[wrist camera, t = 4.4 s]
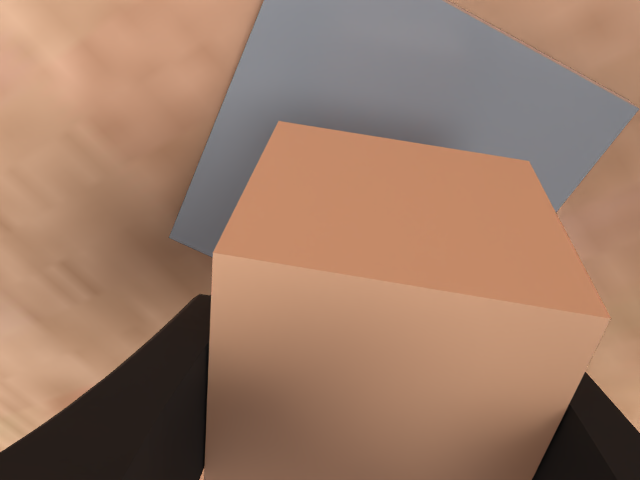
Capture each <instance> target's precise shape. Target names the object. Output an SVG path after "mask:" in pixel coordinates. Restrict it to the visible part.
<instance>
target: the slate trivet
mask: <svg viewBox="0 0 640 480" xmlns="http://www.w3.org/2000/svg"><path fill="white" fill-rule="evenodd" d="M638 110H639V108H638V107H637V106H635V105H634V104H633V103H632V102H630V101H629V100H628V99H626V98H624V97H622V96H620V95H619V94H617V93H615V92H613V91H611V90H609V89H608V88H606V87H604V86H602V85H600V84H599V83H597V82H595V81H593V80H591V79H589V78H588V77H586V76H584V75H582V74H580V73H579V72H577V71H575V70H573V69H571V68H570V67H568V66H566V65H564V64H562V63H560V62H559V61H557V60H555V59H553V58H551V57H550V56H548V55H546V54H544V53H542V52H540V51H539V50H537V49H535V48H533V47H531V46H530V45H528V44H526V43H524V42H522V41H521V40H519V39H517V38H515V37H513V36H511V35H510V34H508V33H506V32H504V31H502V30H501V29H499V28H497V27H495V26H493V25H491V24H490V23H488V22H486V21H484V20H482V19H481V18H479V17H477V16H475V15H473V14H471V13H470V12H468V11H466V10H464V9H462V8H461V7H459V6H457V5H455V4H453V3H452V2H450V1H448V0H264V2H263V4H262V7H261V9H260V12H259V14H258V17H257V19H256V22H255V24H254V27H253V29H252V31H251V34H250V36H249V39H248V41H247V44H246V46H245V49H244V51H243V54H242V56H241V59H240V61H239V64H238V66H237V69H236V71H235V74H234V76H233V79H232V81H231V84H230V86H229V89H228V91H227V94H226V96H225V99H224V101H223V104H222V106H221V109H220V111H219V114H218V116H217V119H216V121H215V124H214V126H213V129H212V131H211V134H210V136H209V139H208V141H207V144H206V146H205V149H204V151H203V154H202V156H201V159H200V161H199V164H198V166H197V169H196V171H195V174H194V176H193V179H192V181H191V184H190V186H189V189H188V191H187V194H186V196H185V199H184V201H183V204H182V206H181V209H180V211H179V214H178V216H177V219H176V221H175V224H174V226H173V229H172V231H171V234H170V236H169V238H171V239H173V240H175V241H177V242H179V243H182V244H184V245H186V246H188V247H190V248H193V249H195V250H197V251H199V252H201V253H204V254H206V255H208V256H210V257H212V258H213V251H214V249H215V247H216V245H217V243H218V241H219V239H220V237H221V235H222V233H223V231H224V229H225V227H226V225H227V223H228V221H229V219H230V217H231V215H232V213H233V211H234V209H235V207H236V205H237V203H238V201H239V199H240V197H241V195H242V193H243V191H244V189H245V187H246V185H247V183H248V181H249V179H250V177H251V175H252V173H253V171H254V169H255V167H256V165H257V163H258V161H259V159H260V157H261V155H262V153H263V151H264V149H265V147H266V145H267V143H268V141H269V139H270V137H271V135H272V133H273V131H274V129H275V127H276V125H277V123H278V121H282V122H289V123H295V124H301V125H307V126H314V127H320V128H326V129H332V130H339V131H345V132H351V133H357V134H364V135H370V136H376V137H382V138H389V139H395V140H401V141H407V142H414V143H420V144H426V145H432V146H439V147H445V148H451V149H457V150H464V151H470V152H476V153H482V154H489V155H495V156H501V157H507V158H514V159H520V160H526V161H529V162H530V164H531V166H532V168H533V170H534V172H535V173H536V175H537V177H538V179H539V181H540V183H541V185H542V187H543V189H544V191H545V193H546V195H547V196H548V198H549V200H550V202H551V204H552V206H553V208H554V210H555V212H557V211H558V210H559V208H560V207H561V206H562V205H563V203H564V202H565V201H566V200H567V198H568V197H569V196H570V195H571V193H572V192H573V191H574V190H575V188H576V187H577V186H578V185H579V183H580V182H581V181H582V180H583V178H584V177H585V176H586V175H587V173H588V172H589V171H590V170H591V168H592V167H593V166H594V165H595V163H596V162H597V161H598V160H599V159H600V157H601V156H602V155H603V154H604V152H605V151H606V150H607V149H608V147H609V146H610V145H611V144H612V142H613V141H614V140H615V139H616V137H617V136H618V135H619V134H620V132H621V131H622V130H623V129H624V127H625V126H626V125H627V124H628V122H629V121H630V120H631V119H632V117H633V116H634V115H635V114H636V112H637V111H638Z"/></svg>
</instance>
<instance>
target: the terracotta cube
mask: <svg viewBox="0 0 640 480" xmlns="http://www.w3.org/2000/svg"><path fill="white" fill-rule="evenodd" d="M610 320H611V317H610V315H609V314H608V312H607V310H606V308H605V306H604V304H603V302H602V300H601V298H600V296H599V294H598V292H597V291H596V289H595V287H594V285H593V283H592V281H591V279H590V277H589V275H588V273H587V271H586V269H585V267H584V266H583V264H582V262H581V260H580V258H579V256H578V254H577V252H576V250H575V248H574V246H573V244H572V243H571V241H570V239H569V237H568V235H567V233H566V231H565V229H564V227H563V225H562V223H561V221H560V220H559V218H558V216H557V214H556V212H555V210H554V208H553V206H552V204H551V202H550V200H549V198H548V196H547V195H546V193H545V191H544V189H543V187H542V185H541V183H540V181H539V179H538V177H537V175H536V173H535V172H534V170H533V168H532V166H531V164H530V162H529V161H526V160H520V159H514V158H507V157H501V156H495V155H489V154H482V153H476V152H470V151H464V150H457V149H451V148H445V147H439V146H432V145H426V144H420V143H414V142H407V141H401V140H395V139H389V138H382V137H376V136H370V135H364V134H357V133H351V132H345V131H339V130H332V129H326V128H320V127H314V126H307V125H301V124H295V123H289V122H282V121H278V123H277V125H276V127H275V129H274V131H273V133H272V135H271V137H270V139H269V141H268V143H267V145H266V147H265V149H264V151H263V153H262V155H261V157H260V159H259V161H258V163H257V165H256V167H255V169H254V171H253V173H252V175H251V177H250V179H249V181H248V183H247V185H246V187H245V189H244V191H243V193H242V195H241V197H240V199H239V201H238V203H237V205H236V207H235V209H234V211H233V213H232V215H231V217H230V219H229V221H228V223H227V225H226V227H225V229H224V231H223V233H222V235H221V237H220V239H219V241H218V243H217V245H216V247H215V249H214V251H213V262H212V288H211V314H210V339H209V365H208V390H207V416H206V442H205V467H204V480H532V478H533V476H534V474H535V472H536V470H537V468H538V466H539V464H540V462H541V460H542V458H543V456H544V454H545V452H546V450H547V448H548V446H549V444H550V442H551V440H552V438H553V436H554V434H555V432H556V430H557V428H558V426H559V424H560V422H561V420H562V418H563V416H564V413H565V411H566V409H567V407H568V405H569V403H570V401H571V399H572V397H573V395H574V393H575V391H576V389H577V387H578V385H579V383H580V381H581V379H582V377H583V375H584V373H585V371H586V369H587V367H588V365H589V363H590V361H591V359H592V357H593V355H594V353H595V351H596V349H597V347H598V345H599V343H600V341H601V338H602V336H603V334H604V332H605V330H606V328H607V326H608V324H609V322H610Z"/></svg>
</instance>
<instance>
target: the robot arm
mask: <svg viewBox="0 0 640 480" xmlns="http://www.w3.org/2000/svg"><path fill="white" fill-rule="evenodd" d="M210 314H211V296H208V295H202V294H199V295H198V296H196V297H195V298H193V299H192V300H191V301H190V302H189V303H188V304H187V305H186V306H185V307H184V308H183V309H182V310H181V311H180V312H179V313H178V314H177V315H176V316H175V317H174V318H173V319H172V320H170V321H169V322H168V323H167V324H166V325H165V326H164V327H163V328H162V329H161V330H160V331H159V332H158V333H156V334H155V335H154V336H153V337H152V338H151V339H150V340H149V341H148V342H147V343H145V344H144V345H143V346H142V347H141V348H140V349H138V350H137V351H136V352H135V353H134V354H133V355H131V356H130V357H129V358H128V359H127V360H126V361H124V362H123V363H122V364H121V365H120V366H119V367H117V368H116V369H115V370H114V371H113V372H111V373H110V374H109V375H108V376H106V377H105V378H104V379H103V380H101V381H100V382H99V383H97V384H96V385H95V386H94V387H92V388H91V389H90V390H88V391H87V392H86V393H84V394H83V395H82V396H81V397H79V398H78V399H77V400H75V401H74V402H73V403H72V404H70V405H69V406H68V407H66V408H65V409H64V410H62V411H61V412H59V413H58V414H57V415H55V416H54V417H52V418H51V419H50V420H48V421H47V422H45V423H44V424H42V425H41V426H39V427H38V428H37V429H35V430H34V431H32V432H31V433H29V434H28V435H26V436H25V437H23V438H22V439H20V440H18V441H17V442H15V443H14V444H12V445H11V446H9V447H8V448H6V449H5V450H3V451H2V452H0V480H199V479H200V476H201V474H202V471H203V469H204V466H205V442H206V416H207V390H208V365H209V339H210ZM532 480H640V433H639V432H638V431H637V430H636V428H635V427H634V426H633V425H632V424H631V423H630V422H629V421H628V419H627V418H626V417H625V416H624V415H623V414H622V413H621V412H620V410H619V409H618V408H617V407H616V406H615V405H614V404H613V402H612V401H611V400H610V399H609V398H608V397H607V396H606V394H605V393H604V392H603V391H602V390H601V389H600V388H599V387H598V385H597V384H596V383H595V382H594V381H593V380H592V379H591V378H590V376H589V375H588V374H587V373H586V372H585V373H584V375H583V377H582V379H581V381H580V383H579V385H578V387H577V389H576V391H575V393H574V395H573V397H572V399H571V401H570V403H569V405H568V407H567V409H566V411H565V413H564V416H563V418H562V420H561V422H560V424H559V426H558V428H557V430H556V432H555V434H554V436H553V438H552V440H551V442H550V444H549V446H548V448H547V450H546V452H545V454H544V456H543V458H542V460H541V462H540V464H539V466H538V468H537V470H536V472H535V474H534V476H533V478H532Z"/></svg>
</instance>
